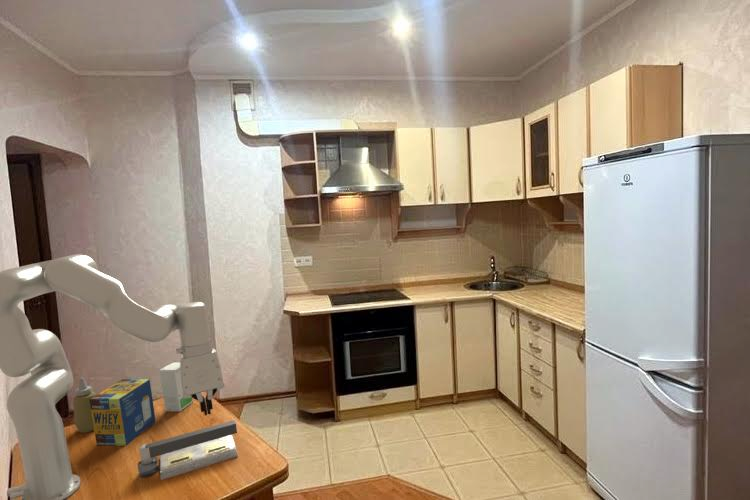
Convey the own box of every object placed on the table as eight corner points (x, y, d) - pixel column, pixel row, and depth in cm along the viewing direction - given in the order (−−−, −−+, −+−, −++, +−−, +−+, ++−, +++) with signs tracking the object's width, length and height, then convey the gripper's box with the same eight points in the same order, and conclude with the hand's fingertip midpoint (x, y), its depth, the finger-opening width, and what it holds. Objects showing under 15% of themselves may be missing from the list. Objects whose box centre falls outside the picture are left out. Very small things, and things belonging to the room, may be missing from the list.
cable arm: (141, 465, 121) (138, 451, 120) (141, 460, 124) (139, 445, 123) (237, 437, 132) (236, 423, 131) (236, 433, 134) (234, 419, 134)
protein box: (95, 446, 140) (88, 399, 138) (129, 421, 155) (122, 378, 153) (126, 446, 138) (118, 398, 136) (156, 421, 153) (150, 378, 151)
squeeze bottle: (78, 427, 153) (69, 377, 151) (105, 420, 157) (97, 371, 154) (73, 437, 146) (64, 385, 144) (102, 430, 149) (93, 379, 147)
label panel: (161, 480, 119) (160, 474, 119) (161, 457, 130) (160, 453, 130) (237, 456, 128) (237, 451, 127) (231, 437, 138) (231, 432, 138)
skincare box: (180, 412, 158) (174, 370, 156) (163, 411, 160) (157, 370, 158) (194, 401, 166) (188, 361, 164) (178, 401, 168) (172, 361, 166)
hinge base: (138, 479, 120) (137, 469, 120) (139, 470, 124) (137, 460, 124) (159, 473, 122) (157, 463, 122) (159, 464, 127) (157, 454, 126)
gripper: (167, 359, 113) (178, 427, 115) (228, 345, 119) (237, 410, 122) (166, 351, 120) (177, 415, 122) (224, 338, 126) (233, 400, 128)
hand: (207, 412), depth 122 cm, fingers closed
